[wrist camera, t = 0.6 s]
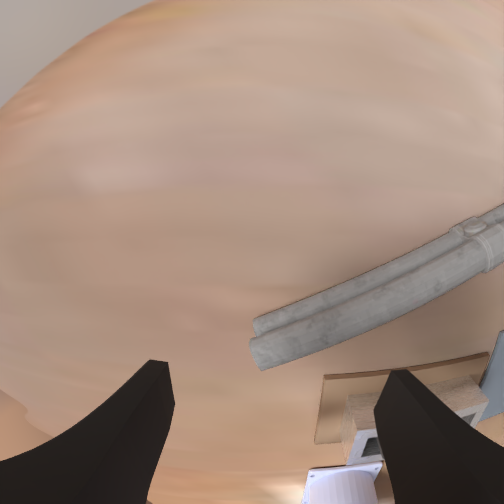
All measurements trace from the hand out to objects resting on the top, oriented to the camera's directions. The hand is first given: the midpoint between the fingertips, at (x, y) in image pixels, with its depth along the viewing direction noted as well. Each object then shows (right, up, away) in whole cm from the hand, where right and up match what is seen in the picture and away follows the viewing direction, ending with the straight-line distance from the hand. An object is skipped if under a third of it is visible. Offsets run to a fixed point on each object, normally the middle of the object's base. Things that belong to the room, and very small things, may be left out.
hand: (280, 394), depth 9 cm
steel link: (+13, -9, +12) cm, 19 cm away
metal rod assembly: (+11, +5, +9) cm, 15 cm away
